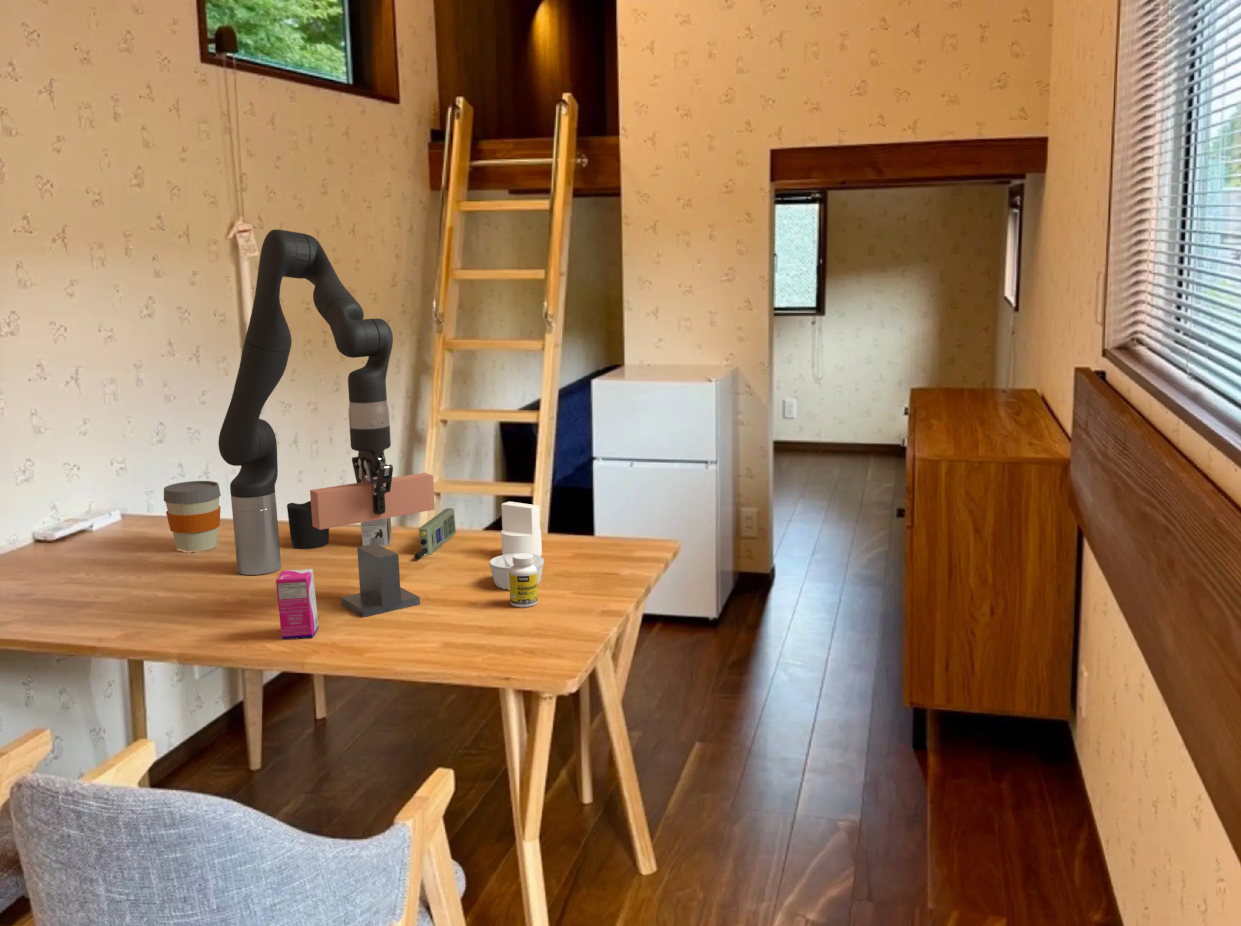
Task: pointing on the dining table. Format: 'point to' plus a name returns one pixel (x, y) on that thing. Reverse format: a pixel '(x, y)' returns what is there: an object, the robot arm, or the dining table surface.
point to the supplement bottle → (523, 581)
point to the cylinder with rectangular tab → (521, 528)
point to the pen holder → (305, 527)
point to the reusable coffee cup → (193, 514)
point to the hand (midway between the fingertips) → (374, 511)
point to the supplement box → (297, 604)
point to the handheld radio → (436, 532)
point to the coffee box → (376, 532)
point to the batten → (370, 501)
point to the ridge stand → (378, 583)
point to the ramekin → (503, 565)
